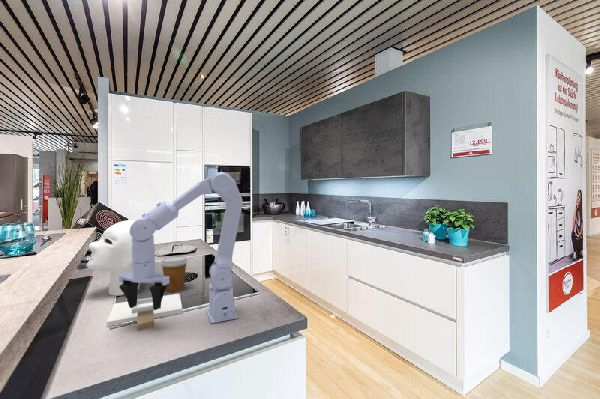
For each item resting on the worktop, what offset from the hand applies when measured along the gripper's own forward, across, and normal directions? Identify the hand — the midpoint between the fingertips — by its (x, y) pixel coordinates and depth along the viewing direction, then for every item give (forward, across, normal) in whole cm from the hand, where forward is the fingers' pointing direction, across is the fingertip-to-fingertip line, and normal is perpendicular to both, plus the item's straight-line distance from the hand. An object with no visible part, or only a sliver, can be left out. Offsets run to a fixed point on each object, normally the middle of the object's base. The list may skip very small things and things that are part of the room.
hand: (145, 307), depth 83 cm
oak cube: (+6, 0, 0) cm, 6 cm away
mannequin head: (+6, +28, -23) cm, 36 cm away
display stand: (+5, +6, -9) cm, 12 cm away
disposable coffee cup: (+6, +9, -28) cm, 30 cm away
